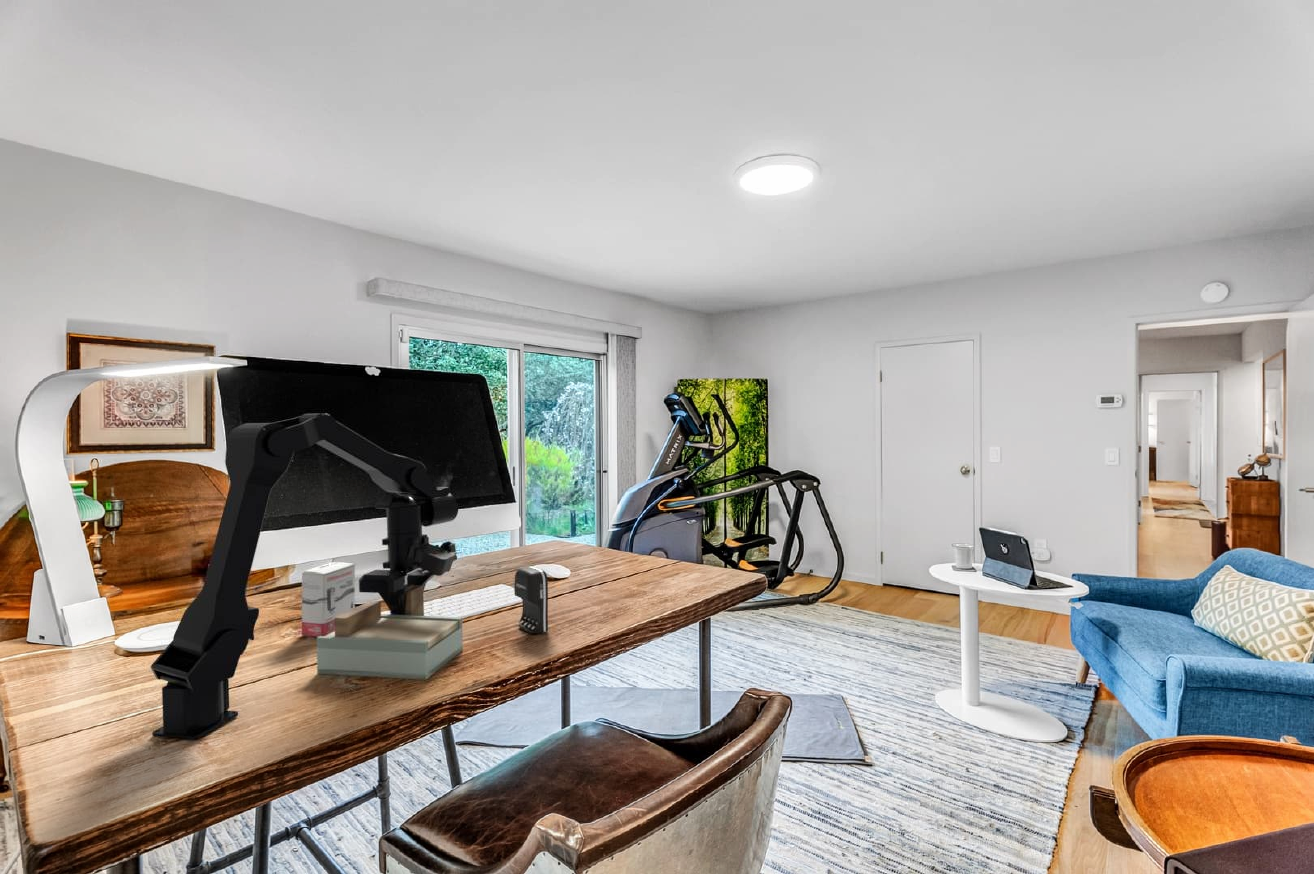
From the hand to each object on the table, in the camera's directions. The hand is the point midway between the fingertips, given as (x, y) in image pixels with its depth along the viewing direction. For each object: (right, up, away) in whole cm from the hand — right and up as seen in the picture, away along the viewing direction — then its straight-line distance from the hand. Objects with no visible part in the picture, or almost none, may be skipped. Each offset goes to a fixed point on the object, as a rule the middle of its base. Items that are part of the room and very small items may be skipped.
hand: (407, 618), depth 109 cm
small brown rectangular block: (0, -2, 0) cm, 2 cm away
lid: (+2, 0, -10) cm, 10 cm away
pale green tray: (+2, -4, -9) cm, 10 cm away
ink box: (-17, -4, +7) cm, 19 cm away
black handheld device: (+21, -4, +5) cm, 22 cm away
